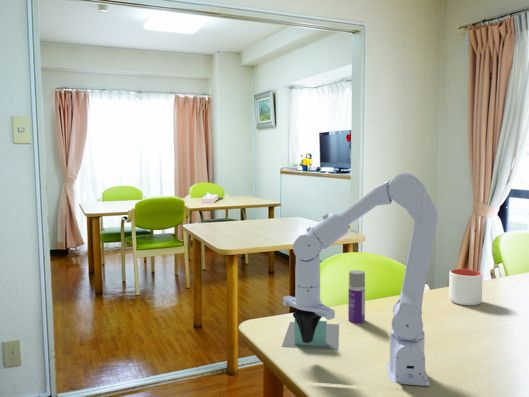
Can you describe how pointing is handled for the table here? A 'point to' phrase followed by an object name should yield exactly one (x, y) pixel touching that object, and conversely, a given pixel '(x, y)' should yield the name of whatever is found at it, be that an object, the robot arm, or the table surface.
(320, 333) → the tile
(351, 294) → the container
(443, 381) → the table surface
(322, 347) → the mat
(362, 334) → the table surface
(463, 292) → the cup
